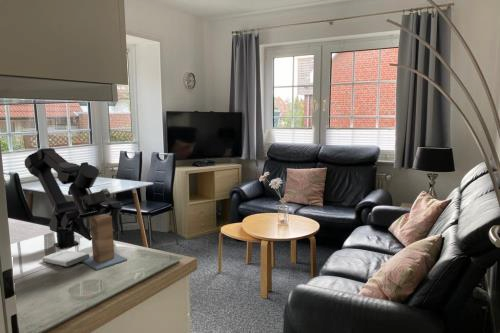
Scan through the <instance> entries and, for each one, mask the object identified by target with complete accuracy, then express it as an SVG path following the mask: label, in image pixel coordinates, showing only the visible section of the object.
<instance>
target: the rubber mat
mask: <svg viewBox="0 0 500 333" xmlns="http://www.w3.org/2000/svg"><path fill="white" fill-rule="evenodd" d="M114 257H115V258H114V259H111V260H108V261H105V262H102V263H98V262H96V261H94V260H93V255H92V256H91V255H90V256H89V258H88V259H86V260H83V261H81V263H83V264H85V265H87V266H89V267H90V268H92V269H94V270H95V271H99V270H102V269H105V268H108V267H112V266H114V265H117V264H121V263H124V262H126V261H127V262H128V258H126V257H124V256H122V255H120V254H118V253H115V252H114Z"/></svg>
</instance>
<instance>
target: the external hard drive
mask: <svg viewBox="0 0 500 333" xmlns="http://www.w3.org/2000/svg"><path fill="white" fill-rule="evenodd" d="M89 257H90V253H86V252H81V251H75V250H68V249H61V250H59V251H56V252H54V253H51V254H48V255H44V256H42V258H41V261H42V262H44V263H49V264H53V265H56V266H61V267H71V266H73V265H76V264H78V263H80V262H81V263H82V261H83V260H86V259H88V258H89Z"/></svg>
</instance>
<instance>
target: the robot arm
mask: <svg viewBox="0 0 500 333" xmlns="http://www.w3.org/2000/svg"><path fill="white" fill-rule="evenodd" d="M24 166H25V169H27V170H28V172H29V173H30V175H31V176H34V177H36V178H38V181H39V183H40V184H41V187H42V189H43V191H44V192H45V195H46V196H47V198H48V200H49V202H50V205H51V206H52V208H53V209H52V213H51V219H50V221H49V223H48V227H49V231H52V232H54V233H55V234H56V242H55V243H53V246H55V247H57V248H58V249H59V250H64V249H65V248H70V247H74V246H77V245H79V244H80V242H78V241H76V236H75V233H76V234H78V235H80V236H81V237H83V238H85V239H86V240H87V241H89V242H90V241H91V242H92V237H91V232H90V231H89V230H88V228H87V226H86V225H85V223H84V221H85V220H86V219H87V220H88V219H90V218H91V217H95V216H99V215H103V214H106V215H110V216H112V227H113V231H114V232H115V233H116V234H117V233H119V230H120V229H119V224H118V223H119V222H118V215H119V213H120V212H121V211H122V209H123V204H122V202H121V201H118V200H116V201H112V202H108V204H107V205H106V207H104V208H102V207H103V205H104V202H106V201H108V199H110V198H111V193H110V191H109V189H108V188H102V189H101V190H99V191H97V192H92V190H91V188H92V187H93V186H94V184H95V182H96V180H97V178H98V176H99V174H100V172H99V169H98V167H96V166H94V165H92V164H89V163H88V161H85V162H81V163H80V165H79V164H77V163H73V162H69V161H67V160H66V159H65V158H64V157H62V156H61V155H60V153H57V152H56V150H55V148H52V147H49V148H48V147H47V148H40V149H38V150H37V151H35V152H34V153H30V154H29V155H27V157H26V158H25V159H24ZM52 169H53V171H55V172H56V173H57V179H58V181H59V182H60V183H61V184H62V185H69V184H70V185H69V188H68V191H67V195H68V196H72V199H73V200H69V201H68V200H67V199H66V197H65V195H64V193H63V191H62V190H61V187H60V185H59V184H58V181H57V180H56V177H55V176H54V174H53V171H52Z"/></svg>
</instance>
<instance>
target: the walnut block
mask: <svg viewBox="0 0 500 333" xmlns="http://www.w3.org/2000/svg"><path fill="white" fill-rule="evenodd" d="M89 222H90V223H89V224H90V235H91V238H92V240H91V248H92V250H91V251H92V256H93V260H94V261H96V262H98V263H102V262H105V261H108V260H111V259H114V258H115V257H114V253H115V247H114V246H115V245H114V243H115V242H114V232H113V231H114V230H113V227H112V216H110V215H106V214H103V215H99V216H95V217H91V218H89Z"/></svg>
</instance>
